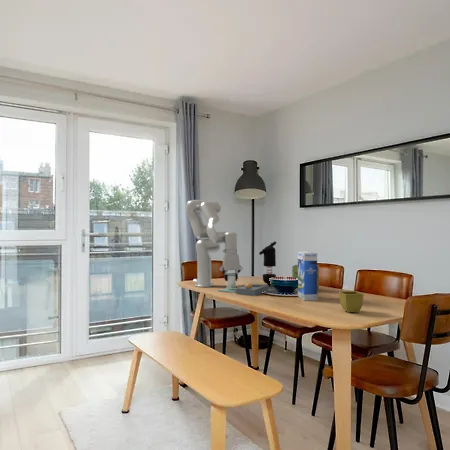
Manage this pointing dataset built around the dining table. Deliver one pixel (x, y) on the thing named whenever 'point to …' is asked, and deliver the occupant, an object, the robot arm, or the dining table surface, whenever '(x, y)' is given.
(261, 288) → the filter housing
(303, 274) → the string lights box
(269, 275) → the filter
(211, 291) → the dining table surface
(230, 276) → the dome-topped cylinder
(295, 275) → the protein box
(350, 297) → the flower pot
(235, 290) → the mat
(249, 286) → the release plunger
